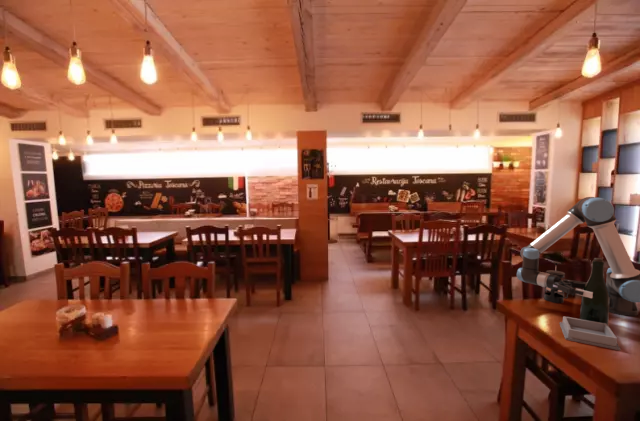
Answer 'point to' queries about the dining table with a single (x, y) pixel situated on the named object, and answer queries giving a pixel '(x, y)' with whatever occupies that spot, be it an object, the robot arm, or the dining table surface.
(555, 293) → the french press
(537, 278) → the robot arm
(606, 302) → the beer bottle
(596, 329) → the bottle stand
